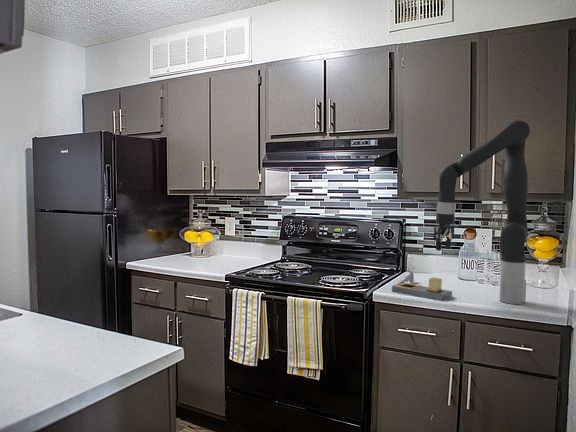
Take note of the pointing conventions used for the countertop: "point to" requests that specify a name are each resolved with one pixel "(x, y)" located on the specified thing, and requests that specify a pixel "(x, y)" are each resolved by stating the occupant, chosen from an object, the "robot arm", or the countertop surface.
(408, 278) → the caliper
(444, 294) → the gray fixture base
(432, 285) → the brass block
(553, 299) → the countertop surface
